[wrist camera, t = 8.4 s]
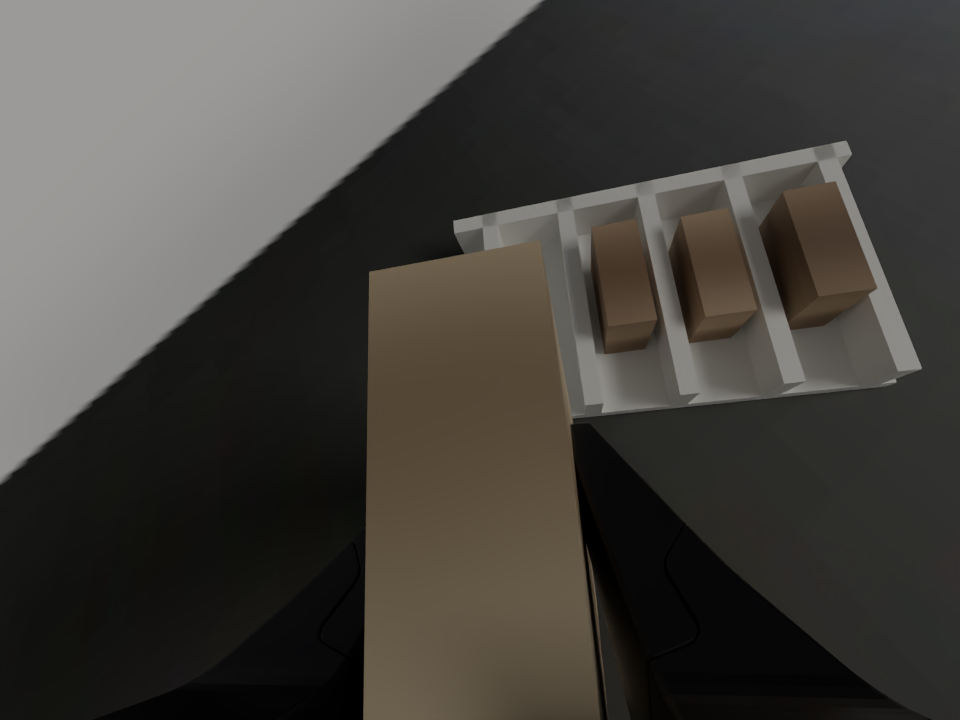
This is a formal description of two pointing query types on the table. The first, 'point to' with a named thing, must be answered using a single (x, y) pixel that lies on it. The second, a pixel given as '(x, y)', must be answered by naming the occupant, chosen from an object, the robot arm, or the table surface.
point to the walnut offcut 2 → (710, 276)
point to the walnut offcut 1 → (621, 287)
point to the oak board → (474, 500)
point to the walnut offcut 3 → (815, 255)
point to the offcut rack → (668, 355)
